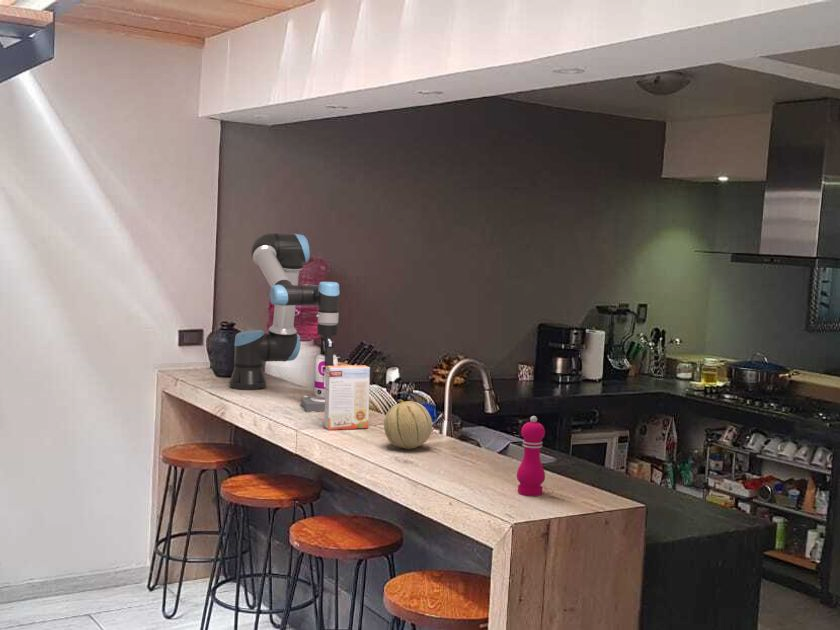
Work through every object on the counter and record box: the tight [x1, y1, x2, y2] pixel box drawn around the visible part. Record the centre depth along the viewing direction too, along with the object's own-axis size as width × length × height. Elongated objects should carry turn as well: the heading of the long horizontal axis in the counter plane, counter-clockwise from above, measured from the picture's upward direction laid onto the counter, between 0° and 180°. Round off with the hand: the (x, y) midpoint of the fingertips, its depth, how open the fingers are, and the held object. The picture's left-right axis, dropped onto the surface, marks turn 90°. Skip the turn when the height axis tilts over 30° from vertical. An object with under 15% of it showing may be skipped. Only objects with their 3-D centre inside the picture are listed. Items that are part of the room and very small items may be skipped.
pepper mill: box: [516, 415, 546, 497], centre depth 247 cm, size 7×7×20 cm
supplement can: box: [313, 353, 339, 397], centre depth 357 cm, size 8×8×15 cm
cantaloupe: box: [383, 398, 433, 450], centre depth 295 cm, size 15×15×15 cm
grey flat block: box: [300, 394, 325, 412], centre depth 358 cm, size 14×16×4 cm
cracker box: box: [323, 364, 371, 431], centre depth 322 cm, size 14×6×21 cm, turn 110°
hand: (325, 385), depth 357 cm, fingers open, 8 cm apart
